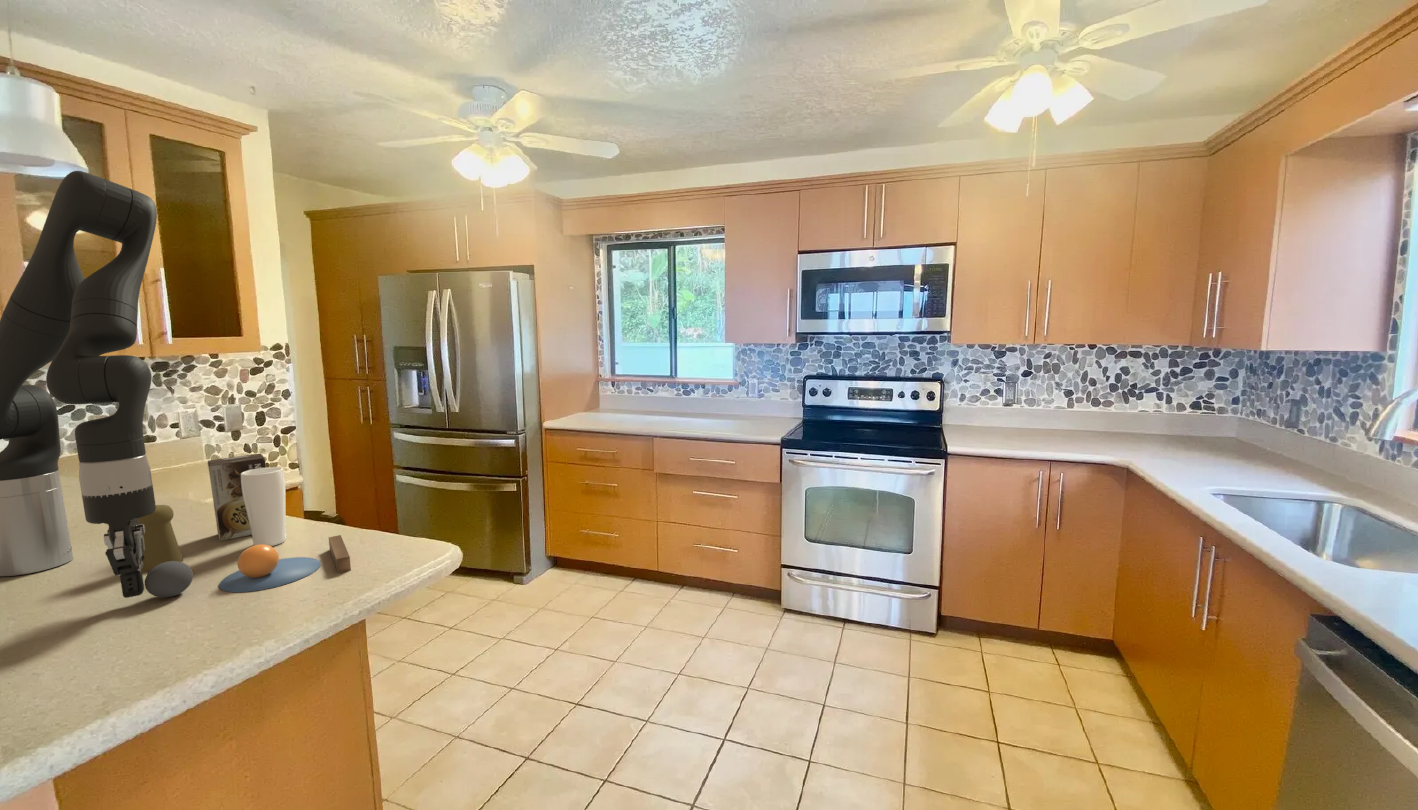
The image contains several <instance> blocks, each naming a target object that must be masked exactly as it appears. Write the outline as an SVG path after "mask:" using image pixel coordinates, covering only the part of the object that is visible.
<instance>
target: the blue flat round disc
mask: <svg viewBox="0 0 1418 810" xmlns="http://www.w3.org/2000/svg"><path fill="white" fill-rule="evenodd" d="M320 567H321V561H320V560H319V559H317V558H314V557H309V556H307V557H305V556H298V557H297V556H296V557H295V556H294V557H286V558H279V562H278V565H277V567H276V568H275V569H274V570H273V571H272V572H271V573H270V574H268V575H266V576H263V577H259V578H250V577H247V576H245V575H243V574H242V573H241V572H240V571H239V570H237V571H235V572H234V571H233V573H230V574H229V575H227V576H225V577H224V578H223V579H222V580H221V581H220V582H219V589H220V590H222V591H225V592H228V593H229V592H230V593H249V592H258V591H264V590H269V589H273V588H278V587H282V586H285V585H288V584H291V583H294V582H297V581H300V580H302V579H304V578H306V577H309V576H310V575H313V572H314V573H315V572H316V571H318V570H319V568H320ZM317 569H318V570H317Z"/></svg>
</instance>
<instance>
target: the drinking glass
mask: <svg viewBox="0 0 1418 810" xmlns="http://www.w3.org/2000/svg"><path fill="white" fill-rule="evenodd" d="M241 487H242V494H243V499H244V503H245V507H246V511H247V516H248V520H249V524H250V528H251V533H252V534H251V537H252V544H253V546H254V545H260V544H264V545H269V546H271V547H273V546H274V547H275V546H277V545H280V544H282V543H284V542H286V540H287V531H286V530H287V525H286V522H287V521H286V519H287V518H286V515H287V514H286V509H287V507H286V501H287V500H286V497H287V495H286V481H285V474H284V469H283V467H280V466H279V467H278V466H275V467H274V466H269V467H267V466H266V468H258V469H253V470H248V471H245V472H242V473H241Z"/></svg>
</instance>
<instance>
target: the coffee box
mask: <svg viewBox="0 0 1418 810" xmlns="http://www.w3.org/2000/svg"><path fill="white" fill-rule="evenodd" d="M207 466H208V472H209V480H210V486H211V487H210V488H211V489H210V490H211V493H212V501H213V508H214V509H213V510H214V515H215V522H216V530H217V535H218V539H219V541H220V542H223V541H228V540H232V539H237V538H241V537H246V536H250V535H251V536H252V533H251V528H250V524H249V520H248V516H247V511H246V507H245V503H244V499H243V494H242V487H241V473H242V472H245V471H248V470H253V469H258V468H267V464H266V459H265V457H264V456H263V454H262V453H253V454H247V455H246V454H245V455H239V456H231V457H225V458H218V459H217V458H216V459H210V460H207Z"/></svg>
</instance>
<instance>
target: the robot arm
mask: <svg viewBox="0 0 1418 810" xmlns="http://www.w3.org/2000/svg"><path fill="white" fill-rule="evenodd" d="M50 205H51V206H50V208H49V211H48V213H47V216H46V219H45V222H44V223H43V227H42V229H41V233H40V236H39V238H38V241H37V243H36V246H35V248H34V251H33V253H32V255H31V257H30V259H29V262H28V263H27V265H26V267H25V269H24V271H23V272H22V275H21V277H20V278H19V280H18V282H17V283H16V285H15V287H14V289H13V291H12V293H11V294H10V296H9V299H8V301H7V304H6V305H5V307H4V310H3V311H2V315H1V316H0V440H7V439H8V444H7V445H6V447H4V449H2V450H1V451H0V577H12V576H13V577H14V576H21V575H27V574H28V575H29V574H32V573H37V572H38V573H39V572H42V571H46V570H49V569H53V568H56V567H59V566H63V565H64V564H66V563H69V562H71V561H72V560H73V559H74V555H73V554H74V553H73V546H72V541H71V536H70V530H69V525H68V517H67V511H66V507H65V500H64V494H63V488H62V487H63V486H62V483H61V475H60V470H59V460H60V457H61V437H60V426H59V416H58V415H59V414H58V410H57V405H56V403H55V401H54V399H56V401H58V402H60V403H63V404H68V405H91V404H92V405H94V404H108V403H109V404H110V403H118V408H117V410H115V412H114V414H111V415H109V416H106V417H105V416H104V417H100V418H95V419H92V420H91V419H90V420H86V421H83V422H81V423H79V424H77V425H76V427H75V428H74V439H75V444H76V450H77V458H78V461H79V463H78V465H79V468H78V469H79V470H78V471H79V472H78V479H79V486H80V487H79V488H80V492H81V498H82V504H83V510H84V512H83V513H84V517H85V521H86V522H87V523H89V524H93V525H101V524H105V525H108V529H107V530H106V531H107V532H106V533H104V534H103V541H104V545H105V546H106V547H107V549H106V550H105V554H104V555H105V556H106V557H107V560H108V562H109V564H110V567H111V569H112V571H113V574H114V576H115V577H116V576H118V577H119V579H120V585H121V586H120V587H121V593H122V597H123V598H124V599H129V598H132V597H138V596H141V595H143V593H144V591H145V582H144V577H143V571H142V568H143V565H144V564H143V563H142V561H144V558H145V556H144V551H145V544H144V533H145V527H144V524H140V525H138V518H141V517H144V516H147V515H149V514H151V513H153V512H154V511H155V510H156V505H157V504H156V497H155V492H154V491H155V490H154V485H153V477H152V471H151V466H150V464H149V460H148V457H147V450H146V446H145V445H146V444H145V438H144V414H145V409H146V404H147V400H148V396H149V393H150V390H151V385H152V378H153V377H152V372H151V370H150V367H149V365H148V364H147V363H146V362H145V361H144V360H142V359H141V358H140V357H137V356H135V355H130V354H129V355H128V354H122V355H121V354H117V355H105V354H109V353H113V352H117V351H118V352H119V351H123V350H126V349H129V348H131V347H132V346H133V345H134V344H135V343H136V341H137V338H138V337H137V336H138V314H139V309H138V308H139V298H140V292H141V288H142V283H143V279H144V276H145V273H146V269H147V265H148V261H149V256H150V252H151V249H152V245H153V240H154V235H155V232H156V226H157V218H158V211H157V206H156V203H155V201H154V200H153V198H152V197H150V196H148V195H146V194H144V193H142V192H140V191H138V190H135V189H132V188H129V187H127V186H125V185H123V184H119V183H116V182H114V181H111V180H108V179H105V178H102V177H100V176H97V175H94V174H92V173H88V172H85V171H82V170H73V171H70V172H68V174H66V176H64V177H63V179H62V181H61V182H60V183H59V186H58V188H57V189H56V191H55V195H54V198H53V199H52V202H51V204H50ZM79 231H81V232H84V233H88V234H91V235H95V236H97V237H102V238H104V239H108V240H109V241H114V242H118V243H120V244H121V247H120V251H119V253H118V254H117V255H116V257H114V258H113V259H112V260H111V261H109V262H108V263H107V264H105V265H104V266H102V267H100V268H99V269H97V270H96V271H94V272H93V273H91V274H90V275H88V276H87V277H86V278H85V277H84V274H83V272H82V270H81V268H80V265H79V263H78V259H77V256H76V252H75V244H74V243H75V237H76V235H77V233H78V232H79ZM46 365H49V366H48V368H47V372H46V375H45V377H46V378H45V384H46V388H47V389H48V391H49V392H48V391H47V390H46V389H44V388H43V387H42V386H38V385H35V384H34V385H33V384H24V383H26V381H27V380H28V379H29V378H30V377H31V376H32V375H34V374H35V373H36V372H37V371H39V370H41V369H42V368H44V367H45V366H46Z"/></svg>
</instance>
